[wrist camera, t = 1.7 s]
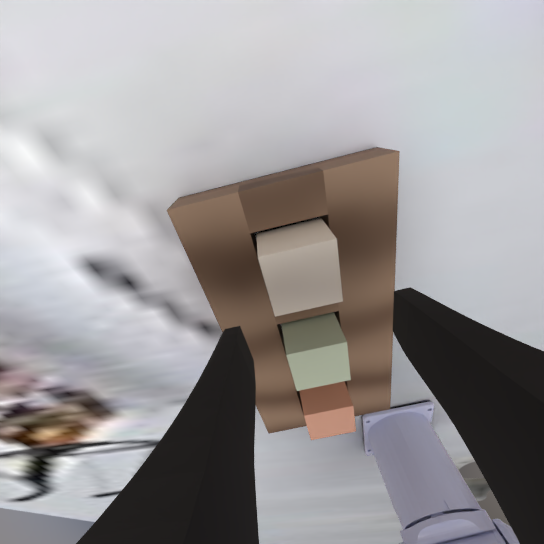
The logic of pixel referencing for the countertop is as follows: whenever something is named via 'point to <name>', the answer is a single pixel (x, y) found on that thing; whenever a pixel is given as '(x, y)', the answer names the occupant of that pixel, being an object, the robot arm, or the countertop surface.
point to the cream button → (300, 266)
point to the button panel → (352, 260)
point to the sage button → (316, 351)
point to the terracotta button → (328, 410)
